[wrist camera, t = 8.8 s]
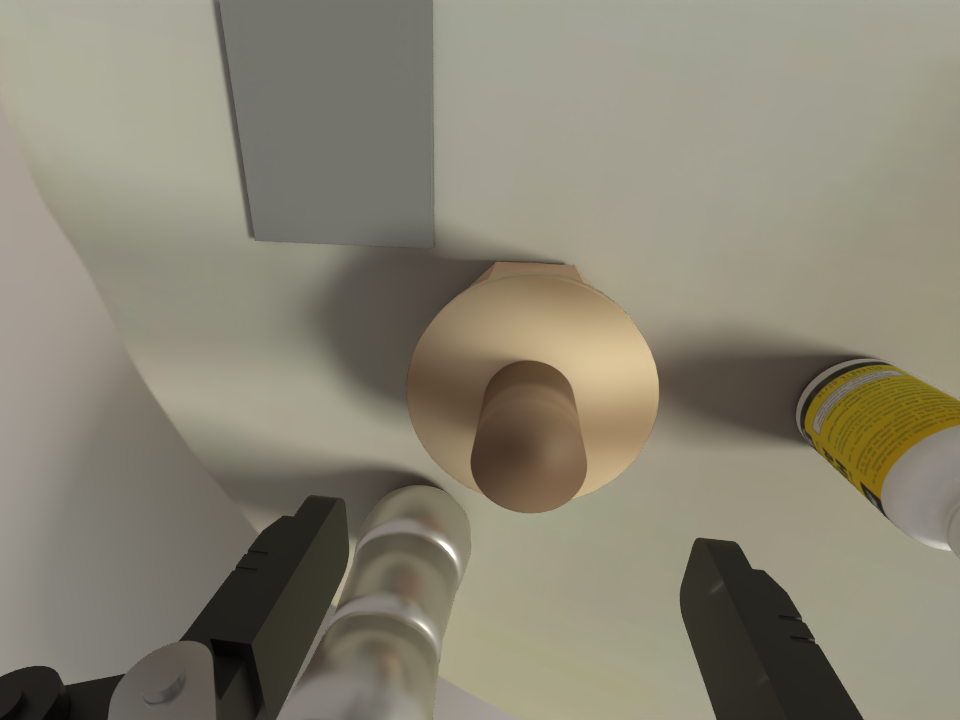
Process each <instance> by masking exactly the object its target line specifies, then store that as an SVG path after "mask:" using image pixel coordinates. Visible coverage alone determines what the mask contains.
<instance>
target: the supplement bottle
mask: <svg viewBox="0 0 960 720" xmlns="http://www.w3.org/2000/svg"><path fill="white" fill-rule="evenodd" d="M796 422H797V425H798V428H799V431H800V432H801V434H802V436H803V437H804V438H805V439H806V440H807V442H808V443H809V444H810V445H811V446H812V447H813V448H814V449H815V450H816V451H817V452H818V453H819V454H820V455H822V456H823V457H824V458H825V459H826V460H827V461H828V462H829V463H830V464H831V465H832V466H833V467H834V468H835V469H836V470H837V471H839V472H840V473H841V474H842V475H843V476H844V477H845V478H846V479H847V480H848V481H849V482H850V483H851V484H852V485H853V486H854V487H855V488H856V489H857V490H859V491H860V492H861V494H863V495H864V496H865V497H866V498H867V499H868V500H869V501H870V502H871V503H872V504H873V505H874V506H875V507H876V508H877V509H878V510H879V511H880V512H881V513H882V514H883V515H884V516H885V517H886V518H888V519H889V520H890V521H891V522H892V523H893V524H894V525H895V526H896V527H898V528H899V529H900V530H901V531H902V532H904V533H905V534H906V535H908V536H909V537H911V538H913V539H914V540H916V541H918V542H920V543H923V544H925V545H928V546H931V547H934V548H938V549H942V550H949V551H953V552H954V553H955V555H956V556H957V557H958V558H959V559H960V398H959V397H957V396H955V395H953V394H951V393H950V392H948V391H946V390H944V389H942V388H940V387H938V386H936V385H934V384H932V383H930V382H928V381H926V380H924V379H922V378H921V377H919V376H917V375H915V374H913V373H911V372H909V371H907V370H905V369H903V368H901V367H899V366H897V365H895V364H893V363H890V362H887V361H884V360H878V359H856V360H850V361H846V362H843V363H840V364H837V365H835V366H833V367H831V368H829V369H827V370H825V371H824V372H822V373H821V374H820V375H818V376H817V377H816V378H815V379H814V380H813V381H812V382H811V383H810V384H809V385H808V386H807V387H806V389H805V390H804V392H803V393H802V395H801V397H800V400H799V402H798V405H797V410H796Z"/></svg>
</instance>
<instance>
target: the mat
mask: <svg viewBox="0 0 960 720" xmlns="http://www.w3.org/2000/svg"><path fill="white" fill-rule="evenodd" d="M219 4H220V11H221V17H222V24H223V31H224V37H225V44H226V51H227V57H228V64H229V71H230V77H231V84H232V91H233V97H234V104H235V111H236V117H237V124H238V131H239V137H240V144H241V151H242V157H243V164H244V171H245V177H246V184H247V191H248V197H249V204H250V211H251V217H252V224H253V231H254V237H255V241H273V242H295V243H317V244H339V245H361V246H383V247H405V248H428V249H432V248H434V128H433V0H219Z"/></svg>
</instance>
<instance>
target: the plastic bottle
mask: <svg viewBox="0 0 960 720" xmlns="http://www.w3.org/2000/svg"><path fill="white" fill-rule="evenodd" d="M470 554H471V532H470V524H469V520H468V518H467V515H466V513H465V511H464V510H463V509H462V507H461V506H460V505H459V504H458V502H457V501H456V500H455V499H454V498H453V497H451V496H450V495H449V494H447V493H446V492H444V491H442V490H440V489H438V488H435V487H432V486H428V485H410V486H407V487H403V488H399V489H396V490H394V491H392V492H390V493H388V494H386V495H385V496H384V497H383V498H381V499H380V501H379V502H378V503H377V504H376V505H375V507H374V508H373V509H372V511H371V512H370V513H369V514H368V516H367V517H366V518H365V520H364V523H363V525H362V527H361V530H360V534H359V537H358V540H357V543H356V548H355V553H354V558H353V563H352V566H351V569H350V572H349V575H348V577H347V580H346V583H345V586H344V589H343V591H342V594H341V597H340V600H339V603H338V605H337V608H336V611H335V613H334V615H333V617H332V619H331V621H330V623H329V625H328V627H327V629H326V631H325V634H324V635H323V637H322V639H321V641H320V643H319V645H318V646H317V648H316V650H315V652H314V654H313V656H312V658H311V660H310V662H309V664H308V666H307V668H306V670H305V671H304V673H303V674H302V676H301V678H300V679H299V681H298V682H297V684H296V686H295V687H294V689H293V690H292V692H291V694H290V695H289V697H288V699H287V700H286V702H285V703H284V705H283V707H282V708H281V710H280V713H279V715H278V717H277V719H276V720H433V707H434V700H435V693H436V685H437V678H438V667H439V662H440V656H441V649H442V641H443V638H444V634H445V630H446V627H447V623H448V620H449V616H450V612H451V609H452V605H453V601H454V598H455V594H456V591H457V590H458V588H459V586H460V583H461V581H462V579H463V576H464V573H465V570H466V567H467V564H468V561H469V557H470Z"/></svg>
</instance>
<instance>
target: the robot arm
mask: <svg viewBox="0 0 960 720" xmlns="http://www.w3.org/2000/svg"><path fill="white" fill-rule="evenodd" d="M348 557H349V540H348V529H347V519H346V508H345V502H344V500H343V499H342V498H334V497H324V496H315V495H310V496H309V497H308V498H307V499H306V500H305V501H304V503H303V504H302V506H301V507H300V509H299V510H298V511H297V513H296V514H295V516H294V517H292V516H282V517H281V518H279V519H278V520H277V521H275V522H274V523H273V524H271V525H270V526H269V527H267V528H266V529H264V530H263V531H262V532H261V534H260V535H259V536H258V538H257V539H256V540H255V542H254V543H253V544H252V546H251V547H250V548H249V550H248V553H247V554H245V555H244V556H243V557H242V559H241V560H240V562H239V563H238V564H237V565H236V569H235V571H232V572H231V573H230V575H229V576H228V578H227V579H226V580H225V581H224V583H223V584H222V586H221V587H220V588H219V590H218V591H217V592H216V593H215V595H214V596H213V598H212V599H211V600H210V601H209V603H208V604H207V605H206V607H205V608H204V609H203V611H202V612H201V613H200V615H199V616H198V617H197V619H196V620H195V621H194V623H193V624H192V626H191V627H190V628H189V629H188V631H187V632H186V633H185V635H184V636H183V637H182V638H181V639H180V640H179V641H178V642H175V643H171V644H169V645H166V646H163V647H161V648H159V649H157V650H155V651H153V652H152V653H150V654H148V655H147V656H145V657H144V658H143V659H141V660H140V661H139V662H137V663H136V664H135V665H134V666H133V667H132V668H131V669H130V670H129V671H128V672H127V673H126V674H122V675H117V676H113V677H107V678H102V679H97V680H92V681H87V682H81V683H76V684H71V685H66V686H64V685H63V683H62V680H61V678H60V676H59V674H58V673H57V672H56V671H55V670H54V669H52V668H50V667H46V666H32V667H26V668H22V669H19V670H16V671H13V672H10V673H8V674H6V675H3V676H1V677H0V720H276V719H277V717H278V715H279V713H280V710H281V708H282V706H283V704H284V702H285V700H286V698H287V696H288V693H289V691H290V689H291V687H292V685H293V682H294V681H295V678H296V676H297V674H298V672H299V670H300V668H301V665H302V663H303V661H304V659H305V657H306V655H307V653H308V651H309V649H310V646H311V644H312V642H313V640H314V638H315V636H316V634H317V631H318V629H319V627H320V625H321V623H322V621H323V618H324V616H325V614H326V612H327V610H328V608H329V606H330V604H331V601H332V599H333V597H334V595H335V593H336V591H337V589H338V587H339V584H340V582H341V580H342V578H343V576H344V573H345V570H346V567H347V563H348ZM680 608H681V613H682V618H683V621H684V624H685V627H686V630H687V633H688V636H689V639H690V642H691V645H692V648H693V651H694V654H695V657H696V659H697V662H698V665H699V668H700V671H701V674H702V677H703V680H704V683H705V686H706V689H707V692H708V695H709V698H710V701H711V704H712V707H713V710H714V713H715V716H716V719H717V720H864V719H863V718H862V716H861V714H860V713H859V711H858V709H857V708H856V706H855V704H854V703H853V701H852V699H851V698H850V696H849V694H848V693H847V691H846V690H845V688H844V686H843V685H842V683H841V681H840V680H839V678H838V676H837V675H836V673H835V671H834V670H833V668H832V666H831V665H830V663H829V661H828V660H827V658H826V656H825V655H824V653H823V652H822V650H821V648H820V647H819V645H818V644H816V643H815V638H814V637H813V635H812V633H811V632H810V630H809V628H808V627H807V625H806V623H803V622H802V617H801V615H800V614H799V612H798V610H797V609H796V607H795V605H794V604H793V602H792V600H791V599H790V597H789V595H788V594H787V592H786V591H785V590H784V589H783V588H782V587H781V586H779V585H778V584H777V583H776V582H775V581H774V580H773V579H772V578H771V577H770V576H769V575H768V574H767V573H766V572H765V571H764V570H756V569H752V567H751V566H750V564H749V562H748V560H747V558H746V557H745V555H744V553H743V551H742V549H741V548H740V546H739V545H738V544H737V543H736V542H734V541H725V540H716V539H706V538H697V539H696V540H695V542H694V544H693V547H692V550H691V554H690V557H689V561H688V564H687V567H686V571H685V574H684V578H683V581H682V584H681V589H680Z"/></svg>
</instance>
